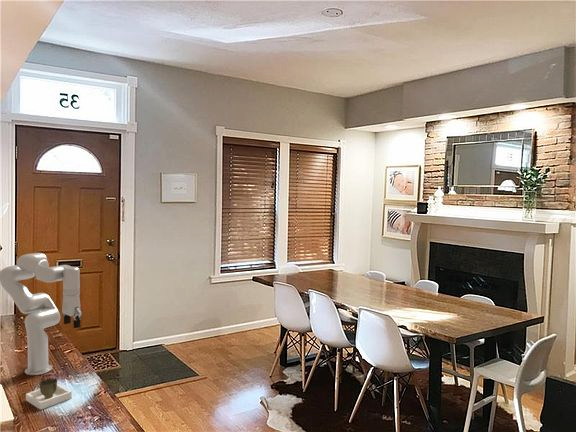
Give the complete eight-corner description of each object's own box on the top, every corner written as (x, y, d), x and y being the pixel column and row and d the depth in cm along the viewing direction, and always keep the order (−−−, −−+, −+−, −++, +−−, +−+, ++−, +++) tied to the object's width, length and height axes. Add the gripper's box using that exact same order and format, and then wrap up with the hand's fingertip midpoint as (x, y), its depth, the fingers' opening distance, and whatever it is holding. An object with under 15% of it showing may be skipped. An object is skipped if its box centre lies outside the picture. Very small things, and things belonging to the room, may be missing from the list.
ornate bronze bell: (40, 395, 214) (40, 378, 214) (58, 393, 217) (58, 376, 216) (38, 402, 207) (38, 385, 207) (56, 400, 210) (56, 382, 209)
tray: (26, 400, 211) (25, 393, 210) (56, 389, 222) (56, 383, 221) (40, 409, 202) (40, 402, 202) (71, 398, 213) (71, 391, 213)
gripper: (55, 290, 232) (56, 323, 233) (72, 296, 222) (73, 331, 223) (70, 288, 238) (70, 320, 239) (87, 293, 227) (88, 327, 229)
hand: (72, 325), depth 231 cm, fingers open, 9 cm apart
